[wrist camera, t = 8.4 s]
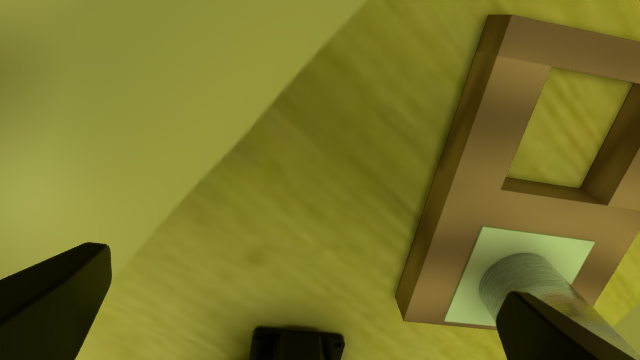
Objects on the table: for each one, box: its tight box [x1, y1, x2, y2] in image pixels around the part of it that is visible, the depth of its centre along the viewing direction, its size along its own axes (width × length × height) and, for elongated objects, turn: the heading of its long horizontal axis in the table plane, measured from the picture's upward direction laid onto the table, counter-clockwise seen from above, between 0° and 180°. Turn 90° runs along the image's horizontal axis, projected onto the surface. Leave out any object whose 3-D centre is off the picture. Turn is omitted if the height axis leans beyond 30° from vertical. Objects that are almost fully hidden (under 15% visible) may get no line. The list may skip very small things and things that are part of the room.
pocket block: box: [395, 15, 640, 330], centre depth 21 cm, size 18×12×2 cm, turn 170°
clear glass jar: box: [479, 253, 640, 360], centre depth 18 cm, size 4×4×9 cm
